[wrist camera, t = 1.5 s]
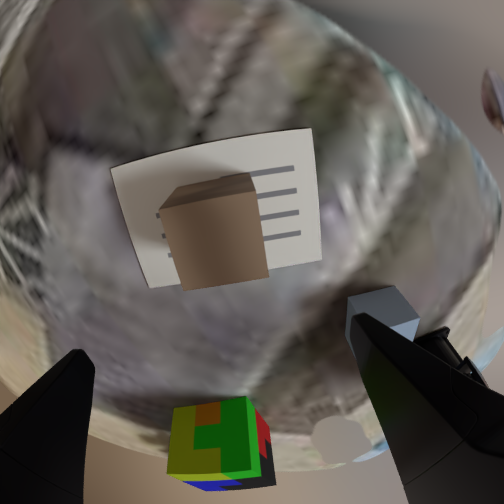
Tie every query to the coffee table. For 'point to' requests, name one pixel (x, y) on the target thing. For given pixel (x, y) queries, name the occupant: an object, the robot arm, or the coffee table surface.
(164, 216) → the walnut block
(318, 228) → the letter
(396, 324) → the blue cube
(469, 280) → the coffee table surface
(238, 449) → the puzzle toy
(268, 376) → the coffee table surface
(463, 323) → the coffee table surface
